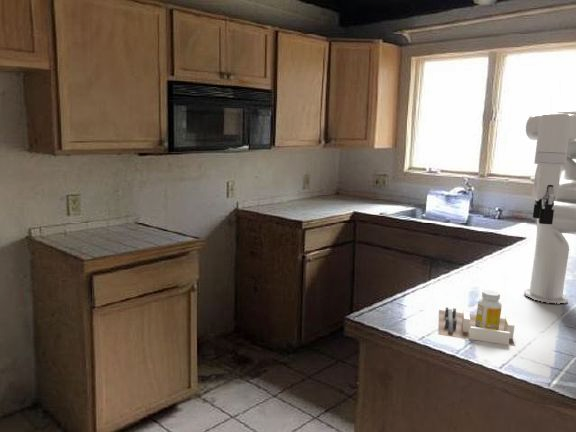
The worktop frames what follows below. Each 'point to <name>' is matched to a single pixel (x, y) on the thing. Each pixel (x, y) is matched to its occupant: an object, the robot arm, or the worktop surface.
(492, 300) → the supplement bottle
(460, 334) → the board
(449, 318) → the cable run
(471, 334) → the holder
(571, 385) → the worktop surface
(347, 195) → the worktop surface
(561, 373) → the worktop surface
